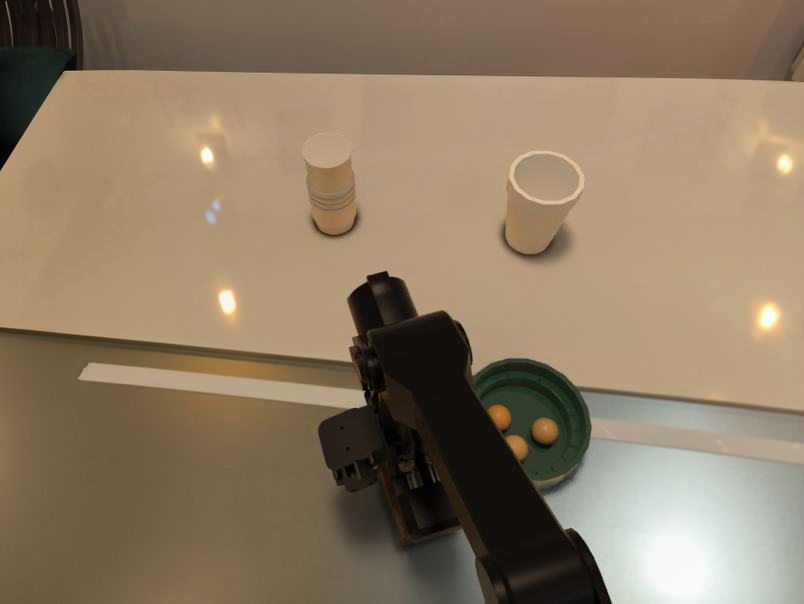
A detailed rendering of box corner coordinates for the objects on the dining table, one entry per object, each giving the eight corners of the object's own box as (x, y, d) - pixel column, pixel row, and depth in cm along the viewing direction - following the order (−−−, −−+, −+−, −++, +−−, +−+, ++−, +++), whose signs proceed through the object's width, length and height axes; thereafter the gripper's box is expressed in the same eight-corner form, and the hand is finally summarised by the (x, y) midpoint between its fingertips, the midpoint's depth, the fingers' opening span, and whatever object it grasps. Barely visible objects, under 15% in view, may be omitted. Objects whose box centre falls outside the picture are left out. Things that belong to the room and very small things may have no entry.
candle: (363, 207, 94) (360, 136, 82) (348, 241, 90) (342, 173, 78) (322, 197, 96) (312, 126, 83) (306, 231, 92) (293, 162, 80)
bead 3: (559, 443, 71) (566, 435, 68) (536, 451, 71) (541, 442, 68) (548, 419, 73) (553, 410, 70) (524, 426, 72) (529, 417, 70)
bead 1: (513, 430, 72) (517, 421, 70) (489, 437, 72) (493, 428, 69) (502, 407, 74) (506, 397, 71) (479, 413, 74) (482, 404, 71)
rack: (451, 530, 67) (454, 522, 64) (401, 545, 66) (402, 538, 63) (408, 409, 75) (409, 397, 72) (363, 422, 74) (362, 410, 71)
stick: (415, 478, 70) (419, 449, 61) (400, 483, 70) (402, 454, 61) (410, 463, 71) (413, 432, 62) (395, 467, 71) (396, 437, 62)
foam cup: (538, 274, 85) (560, 216, 74) (482, 241, 89) (495, 182, 78) (572, 231, 89) (597, 170, 78) (516, 202, 93) (533, 140, 82)
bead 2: (529, 461, 70) (535, 453, 67) (505, 468, 70) (509, 461, 67) (518, 436, 72) (523, 428, 69) (494, 443, 71) (498, 435, 69)
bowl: (602, 471, 69) (615, 458, 65) (485, 507, 68) (492, 497, 64) (545, 362, 77) (554, 344, 73) (440, 392, 76) (443, 376, 72)
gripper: (298, 337, 58) (314, 399, 70) (352, 544, 47) (359, 573, 60) (409, 307, 59) (405, 373, 71) (487, 502, 48) (466, 539, 61)
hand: (406, 458), depth 66 cm, fingers open, 5 cm apart
